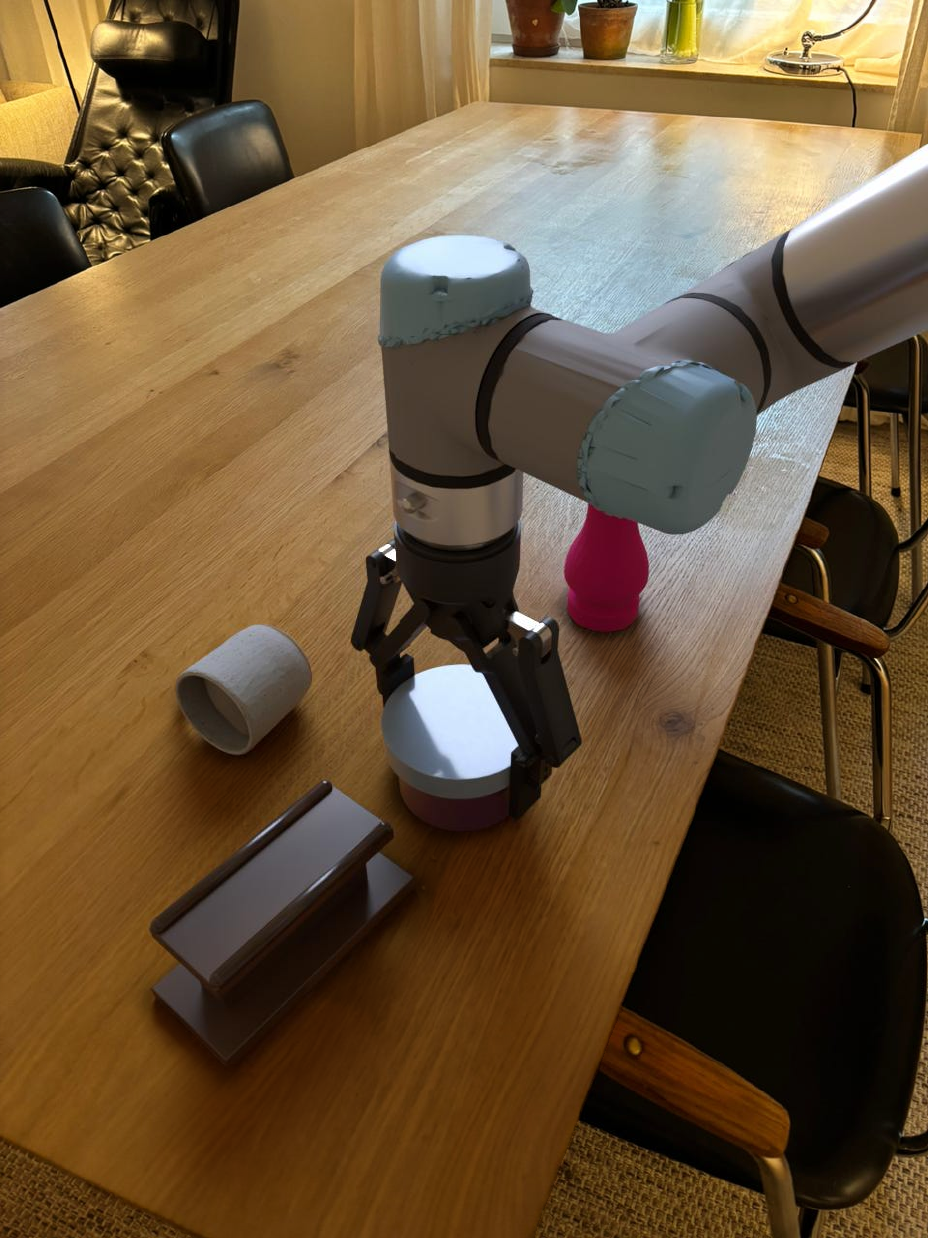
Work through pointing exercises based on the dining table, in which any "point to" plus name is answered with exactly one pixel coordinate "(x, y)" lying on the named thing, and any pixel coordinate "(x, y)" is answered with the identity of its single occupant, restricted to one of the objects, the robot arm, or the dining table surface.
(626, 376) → the robot arm
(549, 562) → the dining table surface
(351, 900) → the plate rack
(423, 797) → the plum stand
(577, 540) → the pepper mill
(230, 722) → the ceramic mug
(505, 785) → the side plate
